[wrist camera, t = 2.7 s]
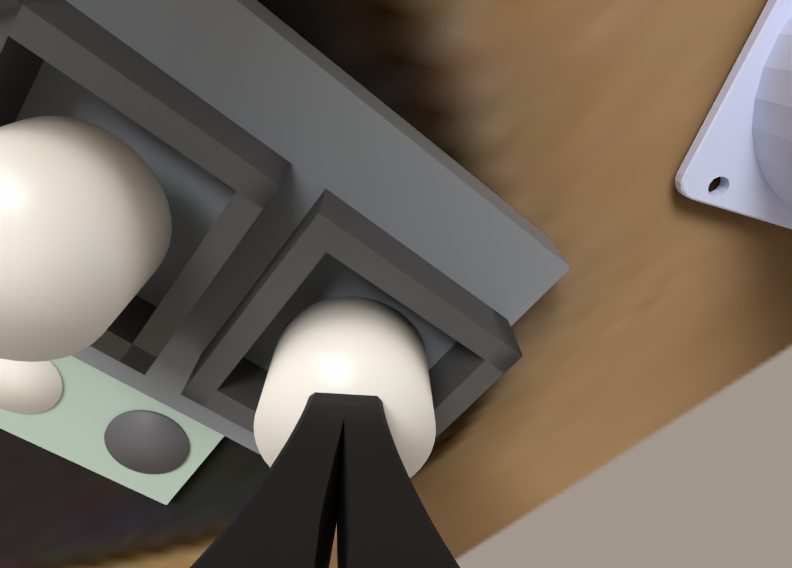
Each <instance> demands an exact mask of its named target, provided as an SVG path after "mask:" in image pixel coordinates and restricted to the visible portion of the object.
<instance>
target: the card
mask: <svg viewBox="0 0 792 568" xmlns="http://www.w3.org/2000/svg"><path fill="white" fill-rule="evenodd" d="M0 428H1V429H3V430H5V431H7V432H10V433H12V434H14V435H16V436H18V437H20V438H23V439H25V440H27V441H29V442H31V443H33V444H35V445H38V446H40V447H42V448H44V449H46V450H48V451H51V452H53V453H55V454H57V455H59V456H61V457H64V458H66V459H68V460H70V461H72V462H74V463H76V464H79V465H81V466H83V467H85V468H87V469H89V470H92V471H94V472H96V473H98V474H100V475H102V476H105V477H107V478H109V479H111V480H113V481H115V482H118V483H120V484H122V485H124V486H126V487H128V488H130V489H133V490H135V491H137V492H139V493H141V494H143V495H146V496H148V497H150V498H152V499H154V500H156V501H159V502H161V503H163V504H165V505H167V504H168V503H169V502H170V500H171V499H172V498H173V497H174V496H175V494H176V493H177V492H178V491H179V490H180V488H181V487H182V486H183V485H184V484H185V483H186V481H187V480H188V479H189V478H190V477H191V475H192V474H193V473H194V472H195V471H196V469H197V468H198V467H199V466H200V465H201V463H202V462H203V461H204V460H205V459H206V457H207V456H208V455H209V454H210V453H211V451H212V450H213V449H214V448H215V447H216V445H217V444H218V443H219V442H220V441H221V440H222V438H223V437H224V435H222V434H220V433H218V432H216V431H214V430H212V429H210V428H209V427H207V426H205V425H203V424H201V423H199V422H197V421H195V420H193V419H191V418H189V417H187V416H186V415H184V414H182V413H180V412H178V411H176V410H174V409H172V408H170V407H168V406H166V405H165V404H163V403H161V402H159V401H157V400H155V399H153V398H151V397H149V396H147V395H145V394H144V393H142V392H140V391H138V390H136V389H134V388H132V387H130V386H128V385H126V384H124V383H122V382H121V381H119V380H117V379H115V378H113V377H111V376H109V375H107V374H105V373H103V372H101V371H100V370H98V369H96V368H94V367H92V366H90V365H88V364H86V363H84V362H82V361H80V360H78V359H77V358H75V357H73V356H71V355H70V356H67V357H64V358H60V359H55V360H50V361H39V362H25V361H14V360H7V359H1V358H0Z"/></svg>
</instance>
